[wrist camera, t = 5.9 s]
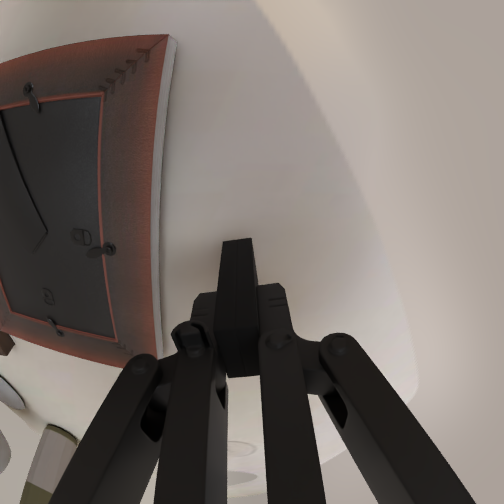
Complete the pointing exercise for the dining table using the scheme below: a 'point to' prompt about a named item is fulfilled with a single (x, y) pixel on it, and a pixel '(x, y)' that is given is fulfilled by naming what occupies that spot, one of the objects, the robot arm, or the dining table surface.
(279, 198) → the dining table surface
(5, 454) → the chalice
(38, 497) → the bottle
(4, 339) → the walnut rail
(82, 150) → the picture frame
